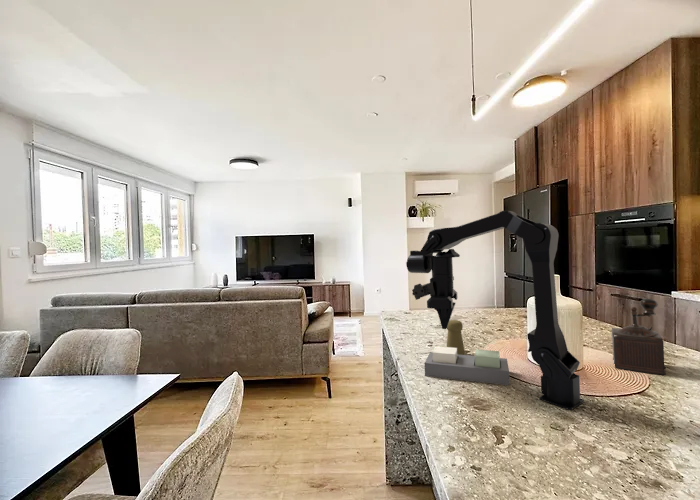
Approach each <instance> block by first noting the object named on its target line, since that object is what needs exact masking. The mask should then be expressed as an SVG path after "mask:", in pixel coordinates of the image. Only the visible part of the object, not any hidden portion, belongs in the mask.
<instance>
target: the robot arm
mask: <svg viewBox="0 0 700 500" xmlns="http://www.w3.org/2000/svg"><path fill="white" fill-rule="evenodd" d="M503 229H506V230H508V232H511V233H512V234H513V235H515V236H517V237H519V238H521V239H522V241H523V244H524V249H525V252H526V255H527V256H528V258H529V261H530V263H531V270H532V271H531V272H532V283H533V296H534V298H533V299H534V308H535V323H536V324H535V329H532V330H531V331H530V332H527V336H526V337H527V340H528V345H529V346H528V350H527V352H528V353H530V352H531V353H530V354H531V358H532V360H533V361H534V362H535V363H536V364H537V365H538V366H539V368H540V371H541V373H542V375H541V376H540V393H541V395H540V396H539V400H541V401H543V402H546V403H549V404H552V405H554V406H558V407H561V408H563V409H566V410H570V411H571V410H572V411H573V409H575V408H576V407H579V406H580V405H581V404H583V403H585V399H584V398H581V389H580V388H581V387H580V383H581V382H580V381H581V380H580V375H579V374H576V373H575V372H577V370H578V368H579V366H580V361H579V359H578V358H576V357H575V356H574V355H573V354H572V352H570V351H569V349H568V347H567V343H566V339H565V335H564V333H563V331H562V328H561V327H560V324H559V317H558V316H559V315H558V304H557V303H558V302H557V289H556V278H555V267H554V266H555V264H554V263H555V258H556V254H557V251H558V243H559V237H560V235H559V232H558V229H557V228H556V227H555V226H553V225H551V224H550V223H541V222H535V221H533V220H531V219H528V218H526V217H523V216H521V215H520V214H517V213H516V212H515V211H511V210H501V211H499V212H498V213H495V214H492V215H489V216H486V217H485V216H484V217H483V218H480V219H477V220H473V221H471V222H467V223H464V224H461V225H459V226H458V225H457V226H453V227H442V228H436V229H431V231H429V232H428V235H427V239H426V241H425V243H424V244H423V246H422V248H421V249H420V250H410V251H409V253H410V254H409V256H408V257H407V260H406V262H405V264H406V269H407V271H408V272H409V273H410V274H430V272H431V277H430V279H429V282H428V283H425V284H421V283H418V284H417V283H416V284H414V285H413V288H412V289H411V290H412V296H414V299H415V301H416V300H417V301H418V300H419V299H421V298H423V297H426V296H429V298H428V300H426V308H427V309H434V310H435V311H436V312H437V314H438V317H439V322H440V326H441V328H442V330H447V326H448V323H449V320H451V317H452V314H453V312H454V309H455V306H456V302H454V301H453V300H456V301H457V300H458V292H457V291H456V289H454V280H455V277H454V273H453V272H454V271H453V270H454V269H453V258H460V257H461V255H460V254H459V253H458V252H457V251H456V250H455V249H454V247H455V246H458V245H459V244H461V243H462V242H464V241H466V240H469V239H473V238H476V237H480V236H482V235H486V234H489V233H492V232H495V231H500V230H503ZM445 250H447V251H445ZM434 254H436V255H434Z"/></svg>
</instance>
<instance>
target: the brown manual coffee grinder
mask: <svg viewBox="0 0 700 500" xmlns="http://www.w3.org/2000/svg"><path fill="white" fill-rule="evenodd" d="M639 306H640V307H642V309H643V311H642V313H638V312H637V310H638V309H637V307H636V306H632V307H631V308H630V311H631V313H630V316H631V317H632V324H631V325H627V326H623V327H621V328H618V327H617V328H616V327H611V339H612V340H611V341H612V343H611V345H612V361H613V360H614V363H613V365H614V364H615V366H614V368H615V369H616V368H619V369H618V370H622V369H624V371H628V370H630V371H629V372H638V373H644V374H651V375H658V376H666V372H665V370H667V367H666V365H665V349H664V345H665V343H664V341H663V337H662V336H661V335H660V334H659V332H658V331H656V330H652V328H653V326H650V327H649V328H648V327H645V326H643V325H639V324H638V318H641V317H642V318H643V317H648V318H649V317H651V316H655V315H656V312H655V310H656V308H657V307H658V306H659V304H658V301H656V300H654V299H652V298H643V299H641V300H640V301H639Z"/></svg>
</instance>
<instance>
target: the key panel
mask: <svg viewBox="0 0 700 500" xmlns="http://www.w3.org/2000/svg"><path fill="white" fill-rule="evenodd" d="M509 368H510V367H509V363H508V359H507V358H504V357H500V368H493V367H483V366H475V355H469V354H468V355H467V354H465V355H458V354H457V363H456V364H452V363H441V362H433V351H430V352H429V353H428V355H427V357H426V359H425V360H424V376H425V377H431V378H432V377H435V378H442V379H450V380H451V379H453V380H460V381H461V380H462V381H469V382H477V383H485V384H493V385H494V384H497V385H503V386H511V385H510V383H511V382H510V369H509Z"/></svg>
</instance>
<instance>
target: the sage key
mask: <svg viewBox="0 0 700 500" xmlns="http://www.w3.org/2000/svg"><path fill="white" fill-rule="evenodd" d="M474 356H475V366H483V367H493V368H500V358H501V357H500V351H499V350H488V349H475V352H474Z"/></svg>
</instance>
